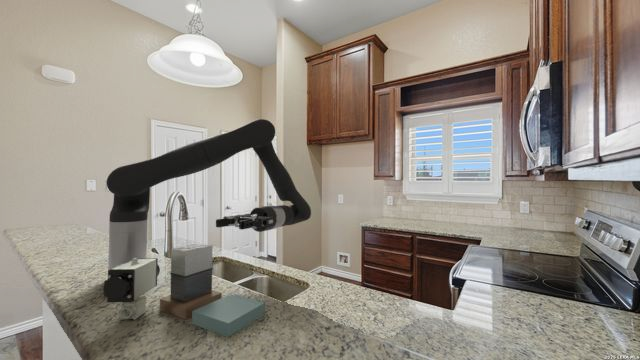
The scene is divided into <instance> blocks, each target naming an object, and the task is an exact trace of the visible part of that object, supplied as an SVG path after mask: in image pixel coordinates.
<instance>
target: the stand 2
mask: <svg viewBox="0 0 640 360" xmlns="http://www.w3.org/2000/svg"><path fill="white" fill-rule="evenodd" d="M265 307H266V304H265V302H263V301H259V300H255V299H251V298H248V297H244V296H240V295H237V294H231V293H229V294H228V295H227V294H226V296H223V297H221V299H218V300H216V301H214V302H212V303H209V304H207V305H205V306H203V307H200V308H198V309H196V310H194V311H192V317H191V324H192V325H194V326H196V327H200V328H202V329H204V330H208V331H210V332H213V333H215V334H217V335H220V336H224V337H227V338H229V337H231V336H233V335H235V334H236V333H238V332H239V331H241V330H242V329H244V328H245V327H247V326H249V325H250V324H252V323H254V322H255V321H256V320H259V319H261V318H262V317H263V316H265V314H266V313H265V312H266V311H265Z"/></svg>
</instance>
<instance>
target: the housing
mask: <svg viewBox="0 0 640 360" xmlns="http://www.w3.org/2000/svg"><path fill="white" fill-rule="evenodd" d="M170 254H171V255H170V256H171V257H170V261H171V262H170V272H169V273H170V274H169V275H170V292H169V293H170V299H172V300H175V301H178V302H181V303H187V302H189V301H192V300H194V299H197V298H199V297H202V296H204V295H207V294H209V293H212V290H213V270H214V268H213V244H207V243H200V242H197V243H193V244H188V245H183V246H178V247H172V248H171V253H170Z"/></svg>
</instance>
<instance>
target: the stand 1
mask: <svg viewBox="0 0 640 360" xmlns="http://www.w3.org/2000/svg"><path fill="white" fill-rule="evenodd" d="M221 298H222V292H220V291H216V290H213V289H212V293H209V294H207V295H204V296H202V297H199V298H197V299H194V300H192V301H189V302H187V303H181V302H178V301H175V300H172V299H170V295H167V296H164V297H161V298H160V299H159V311H161V312H164V313H166V314H169V315H172V316H174V317H176V318H180V319H183V320H185V321H187V320H189V319H192V311H194V310H196V309H198V308H200V307H203V306H205V305H207V304H209V303H212V302H214V301H216V300H218V299H221Z"/></svg>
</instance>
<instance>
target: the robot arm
mask: <svg viewBox="0 0 640 360" xmlns="http://www.w3.org/2000/svg"><path fill="white" fill-rule="evenodd" d="M275 128H276V127H275V125H274V124H273V123H272V122H271V121H269V120H267V119H264V118H257V119H253V121H250V122H249V123H246V124H244V125H242V126H240V127H237V128H235V129H233V130H230V131H228V132H224V133H220V134H216V135H213V136H208V137H205V138H202V139H199V140H196V141H193V142H191V143H188V144H185V145H183V146H181V147H177V148H175V149H172V150H171V151H168V152H166V153H164V154H161V155H159V156H156V157H153V158H150V159H147V160H143V161H139V162H135V163H134V162H133V163H131V164H126V165H122V166H119V167H116V168H115V169H114V170H112V171H111V172H110V173H109V175H108V176H107V178H106V188H107V190H109V192H110V193H111V194H112V195H113V203H112V207H111V211H110V213H109V219H108V220H109V222H108V223H109V225H108V255H107V257H108V258H107V263H108V265H107V271H108V270H110V269H113V268H115V267H116V266H118V265H119V266H120V265H121V264H125V263H127V262H130V261H132V259H134V258H138V259H148V258H147V255H148V254H147V253H148V250H147V249H148V217H149V216H148V215H149V210H150V201H151V200H150V197H151V196H150V195H151V188H153V187H154V186H157V185H159V184H161V183H163V182H166V181H168V180H172V179H176V178H181V177H185V176H186V177H187V176H189V175H194V174H195V173H199V172H202V171H204V170H207V169H210V168H211V167H214V166H217V165H219V164H220V163H221V164H222V162H224V161H226V160H228V159H230V158H232V157H233V156H235V155H236V154H237V155H238V153H241V152H243V151H246V150H249V149H252V150H253V151H254V152H255V153H256V155H257V157H258V158H259V160H260V162H261V164H262V165H263V167H264V169H265V171H266V173H267V175H268V177H269V179H270V182H271V184H272V186H273V188H274V190H275V193H276V195H277V197H278V198H279V200H280V201H281V202H287V201H288V202H290V203H291V204H290V205H286V204H285V205H283V204H280V205H265V206H263V205H262V206H257V207H254V208H253V209H252V210H251V212H250V213H244V214H235V215H229V216H227V215H226V216H223V217H222V218H217V219H216V220H215V227H216V228H222V227H223V228H225V227H235V228H238V229H239V230H248V229H253V231H255V232H258V233H262V232H266V231H271V230H275V229H277V228H280V227H285V226H292V225H297V224H299V223H302V222H305V221H308V220H310V218H311V216H312V210H311V207H310V205H309V203H308V202H307V200H306V199H305V198H304V197H303V196H302V195H301V194H300V192H299V190H297V187H296V185H295V184H294V182H293V179H292V177H291V174H290V173H289V172H288V170H287V168H286V167H285V165H284V164H283V163H282V161H281V160H280V159H279V156H278V155H277V153H276V151H275V148H274V146H273V140H274V138H275V135H276V129H275Z"/></svg>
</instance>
